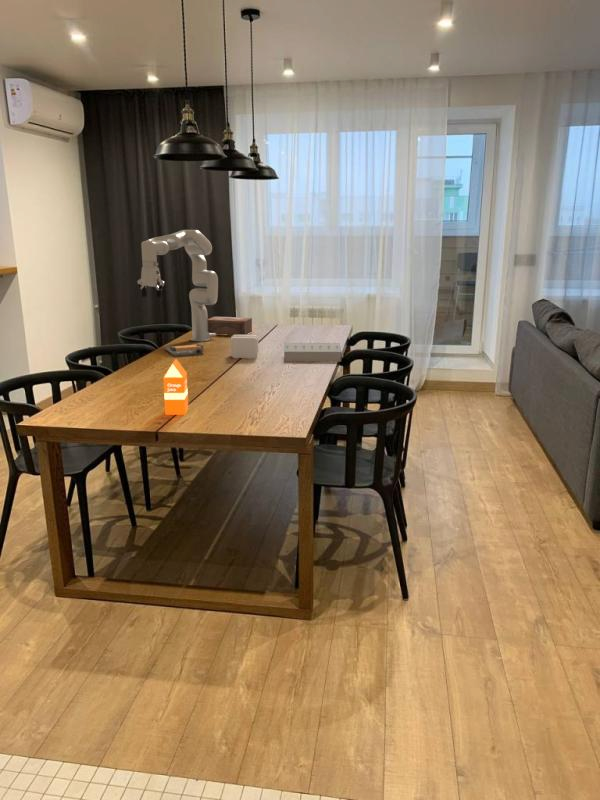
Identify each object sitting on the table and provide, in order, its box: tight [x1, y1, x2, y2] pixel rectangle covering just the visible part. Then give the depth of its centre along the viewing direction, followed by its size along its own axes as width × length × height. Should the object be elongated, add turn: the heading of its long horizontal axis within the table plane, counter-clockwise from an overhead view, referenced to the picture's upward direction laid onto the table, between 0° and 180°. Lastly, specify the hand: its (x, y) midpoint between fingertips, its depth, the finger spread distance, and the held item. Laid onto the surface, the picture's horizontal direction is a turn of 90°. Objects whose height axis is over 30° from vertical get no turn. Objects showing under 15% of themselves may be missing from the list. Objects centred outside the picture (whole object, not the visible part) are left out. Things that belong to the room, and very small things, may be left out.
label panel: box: [163, 346, 205, 358], centre depth 352 cm, size 18×24×2 cm
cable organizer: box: [230, 334, 259, 360], centre depth 338 cm, size 15×11×12 cm
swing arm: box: [169, 343, 204, 351], centre depth 346 cm, size 18×6×2 cm, turn 115°
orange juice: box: [162, 358, 189, 416], centre depth 239 cm, size 8×9×20 cm
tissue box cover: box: [208, 316, 253, 335], centre depth 409 cm, size 26×14×10 cm, turn 76°
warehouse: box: [283, 342, 342, 363], centre depth 335 cm, size 30×14×8 cm, turn 90°
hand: (151, 297), depth 340 cm, fingers open, 9 cm apart
